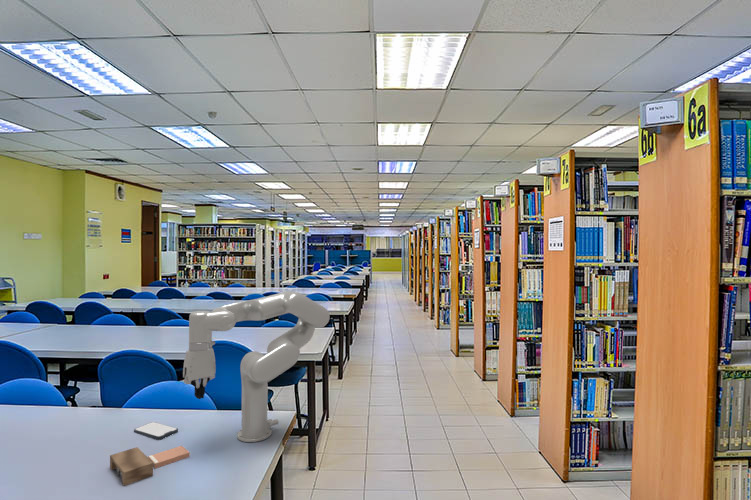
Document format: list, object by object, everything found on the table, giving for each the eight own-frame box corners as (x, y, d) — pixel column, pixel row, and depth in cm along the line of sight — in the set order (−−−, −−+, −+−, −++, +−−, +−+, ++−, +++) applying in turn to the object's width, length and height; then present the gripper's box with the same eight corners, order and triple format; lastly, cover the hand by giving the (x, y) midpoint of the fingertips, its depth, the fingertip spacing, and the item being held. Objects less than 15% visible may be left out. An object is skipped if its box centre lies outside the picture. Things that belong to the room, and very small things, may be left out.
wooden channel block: (137, 458, 141) (137, 447, 141) (152, 475, 130) (153, 462, 130) (109, 467, 135) (110, 455, 135) (124, 485, 124) (124, 472, 124)
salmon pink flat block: (181, 451, 147) (181, 445, 147) (189, 458, 142) (189, 452, 142) (147, 462, 139) (147, 456, 139) (154, 470, 135) (154, 463, 135)
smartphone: (132, 433, 162) (158, 441, 154) (132, 429, 162) (158, 437, 154) (153, 425, 169) (179, 432, 162) (153, 421, 169) (179, 428, 162)
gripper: (215, 341, 157) (215, 390, 156) (174, 347, 146) (173, 400, 146) (225, 344, 151) (224, 395, 151) (183, 351, 141) (182, 405, 140)
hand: (199, 397), depth 148 cm, fingers closed
